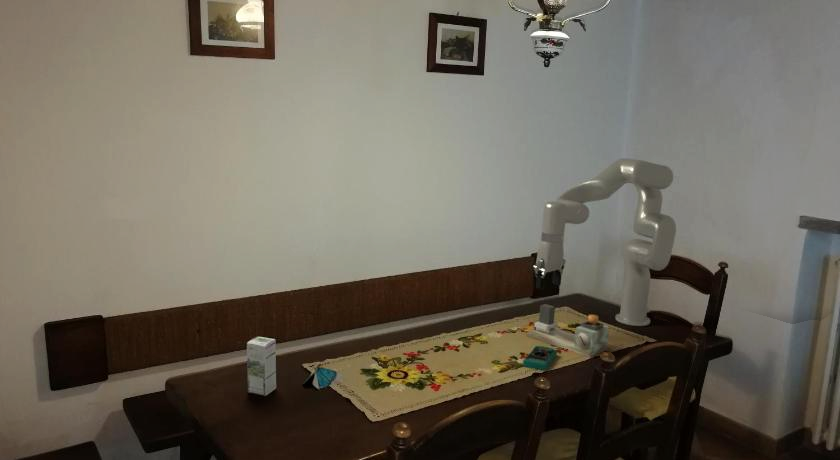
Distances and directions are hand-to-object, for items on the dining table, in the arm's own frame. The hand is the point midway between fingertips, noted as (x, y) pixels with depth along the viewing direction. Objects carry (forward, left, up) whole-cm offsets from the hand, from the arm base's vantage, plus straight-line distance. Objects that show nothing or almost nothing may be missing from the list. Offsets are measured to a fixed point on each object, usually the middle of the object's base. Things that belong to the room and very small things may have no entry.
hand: (548, 286), depth 227 cm
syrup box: (+99, -23, -18) cm, 103 cm away
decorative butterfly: (+83, -18, -19) cm, 87 cm away
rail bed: (0, +9, -18) cm, 20 cm away
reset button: (0, +18, -8) cm, 20 cm away
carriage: (0, 0, -16) cm, 16 cm away
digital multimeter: (+21, +13, -19) cm, 31 cm away
